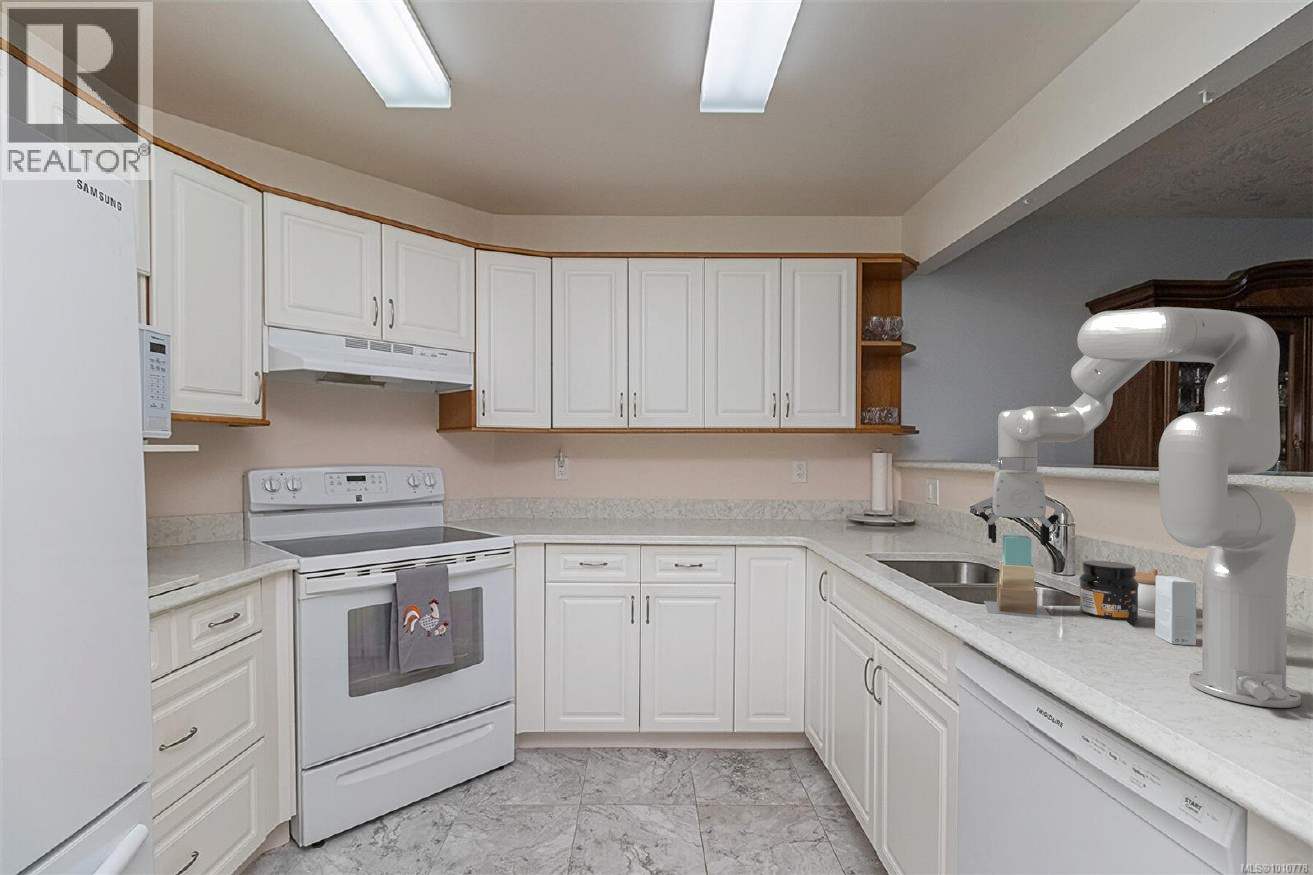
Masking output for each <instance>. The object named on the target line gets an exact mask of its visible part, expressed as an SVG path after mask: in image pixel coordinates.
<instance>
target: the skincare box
mask: <svg viewBox="0 0 1313 875" xmlns="http://www.w3.org/2000/svg"><path fill="white" fill-rule="evenodd" d="M1154 615H1155V617H1154V619H1155V621H1154V624H1155V625H1154V627H1155V628H1154V636H1156V637H1157V638H1159V639H1161V640H1163V641H1166V642H1168V643H1170V644H1171V645H1178V646H1180V645H1183V646H1196V645H1197V582H1196V581H1192V580H1189V579H1186V578H1184V577H1180V576H1173V575H1170V576H1158V575H1157V576H1156V597H1155V613H1154Z"/></svg>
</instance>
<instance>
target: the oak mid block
mask: <svg viewBox="0 0 1313 875" xmlns="http://www.w3.org/2000/svg"><path fill="white" fill-rule="evenodd" d="M999 582H1000V584H1001V586H1002V588H1007V589H1019V590H1031V591H1034V588H1035V566H1034V565H1033V564H1032V563H1031V567H1027V566H1012V565H1005V564H1004V563H1003V562H1002V560H999Z"/></svg>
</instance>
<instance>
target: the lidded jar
mask: <svg viewBox="0 0 1313 875" xmlns="http://www.w3.org/2000/svg"><path fill="white" fill-rule="evenodd" d="M1157 575H1158V576H1171V575H1169V574H1163V573H1158V569H1153V568H1152V569H1151V572H1141V571H1140V572H1139V571H1138V572H1137V571H1136V576H1135V577H1134V578H1135V579H1136V581H1137V582H1138V583H1139V587H1138V611H1142V612H1146V613H1150V614H1155V597H1156V576H1157Z"/></svg>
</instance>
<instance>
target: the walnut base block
mask: <svg viewBox="0 0 1313 875" xmlns="http://www.w3.org/2000/svg"><path fill="white" fill-rule="evenodd" d="M996 602H997V606H998V608H999V610H1000V611H1001V612H1012V613H1022V614H1033V615H1037V606H1038V591H1037V589H1036V588H1035V587H1034V591H1031V590H1019V589H1007V588H1002V586H1001V584H1000V581H999V582H998V581H997V582H996Z"/></svg>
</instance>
